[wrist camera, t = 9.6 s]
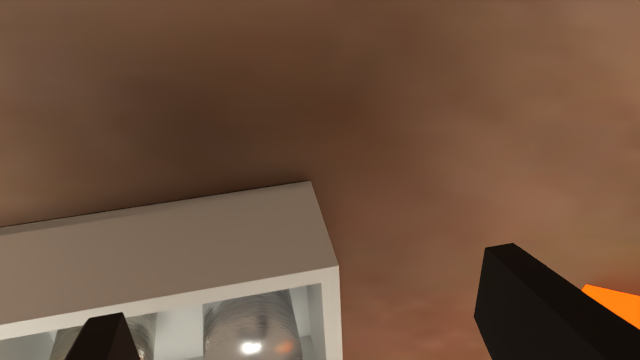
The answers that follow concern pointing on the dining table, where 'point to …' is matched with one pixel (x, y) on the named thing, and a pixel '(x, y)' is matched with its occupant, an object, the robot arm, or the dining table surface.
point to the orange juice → (617, 303)
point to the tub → (171, 270)
